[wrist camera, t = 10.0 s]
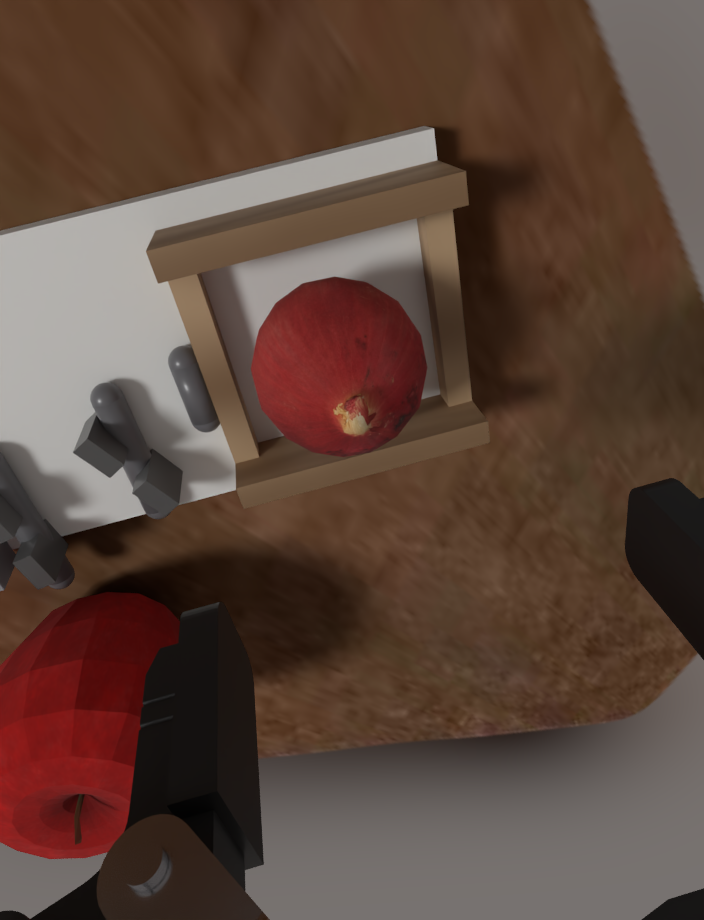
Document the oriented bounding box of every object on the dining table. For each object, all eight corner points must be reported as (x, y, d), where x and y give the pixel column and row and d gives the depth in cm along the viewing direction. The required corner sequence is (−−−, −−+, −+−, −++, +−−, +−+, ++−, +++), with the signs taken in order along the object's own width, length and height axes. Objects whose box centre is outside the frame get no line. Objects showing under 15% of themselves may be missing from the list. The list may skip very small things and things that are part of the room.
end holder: (155, 230, 21) (145, 251, 18) (437, 160, 21) (465, 171, 19) (242, 467, 26) (243, 508, 24) (464, 408, 27) (489, 442, 24)
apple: (81, 514, 27) (9, 729, 18) (252, 599, 32) (262, 806, 23) (-26, 646, 30) (-134, 888, 21) (145, 707, 35) (116, 929, 26)
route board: (-257, 294, 21) (-338, 330, 18) (424, 125, 22) (456, 133, 19) (-32, 586, 28) (-62, 646, 25) (463, 453, 29) (490, 496, 26)
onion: (426, 308, 24) (504, 395, 17) (343, 422, 26) (385, 539, 19) (301, 222, 21) (335, 285, 15) (221, 354, 23) (218, 463, 17)
